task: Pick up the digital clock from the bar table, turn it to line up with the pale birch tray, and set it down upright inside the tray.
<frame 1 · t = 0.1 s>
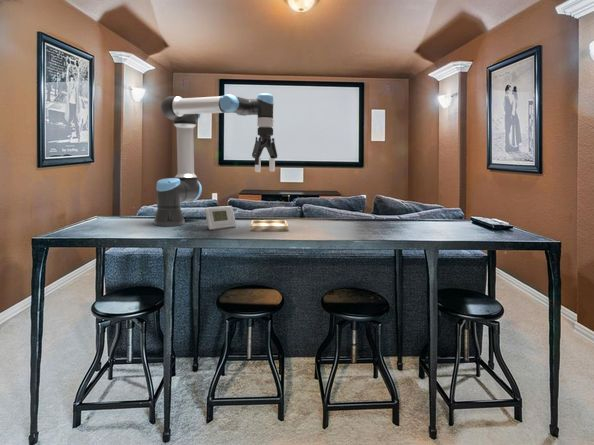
hand: (265, 171, 211), 28 cm above the table, fingers open, 13 cm apart
birch tray: (269, 227, 217), on the table
digital clock: (220, 228, 214), on the table
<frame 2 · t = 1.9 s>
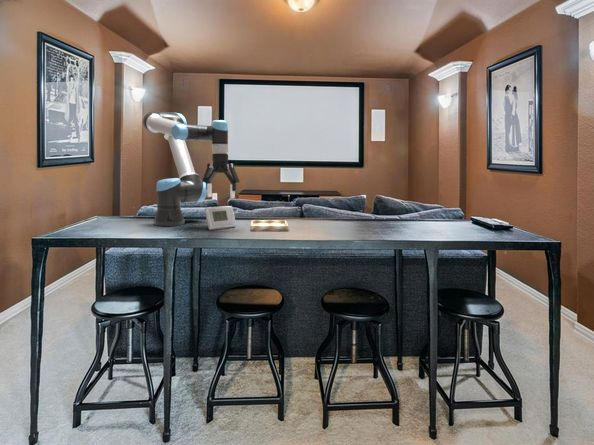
hand: (220, 197, 212), 15 cm above the table, fingers open, 13 cm apart
nothing on the table moved.
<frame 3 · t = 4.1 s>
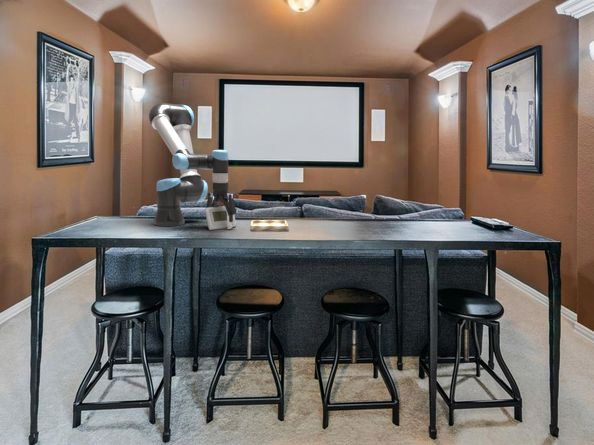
hand: (220, 227, 214), 0 cm above the table, fingers open, 9 cm apart
nothing on the table moved.
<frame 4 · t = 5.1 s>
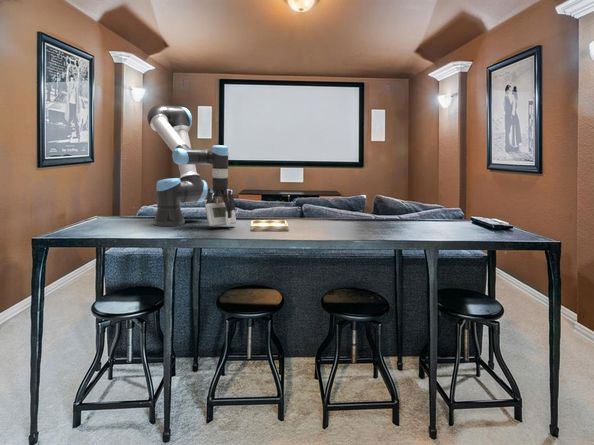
hand: (220, 223, 214), 2 cm above the table, fingers closed on digital clock, 8 cm apart
digital clock: (220, 225, 214), point 2 cm above the table, touching gripper
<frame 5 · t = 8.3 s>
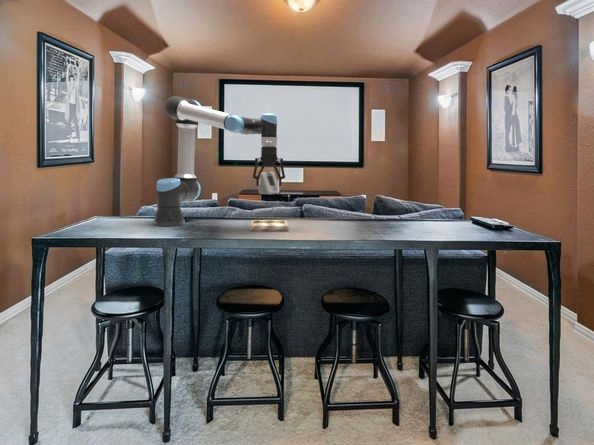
hand: (268, 192, 214), 18 cm above the table, fingers closed on digital clock, 8 cm apart
digital clock: (270, 193, 214), point 17 cm above the table, touching gripper
when the fingers open (3 cm above the table, at t = 11.9 s): digital clock drops 2 cm, resting on birch tray.
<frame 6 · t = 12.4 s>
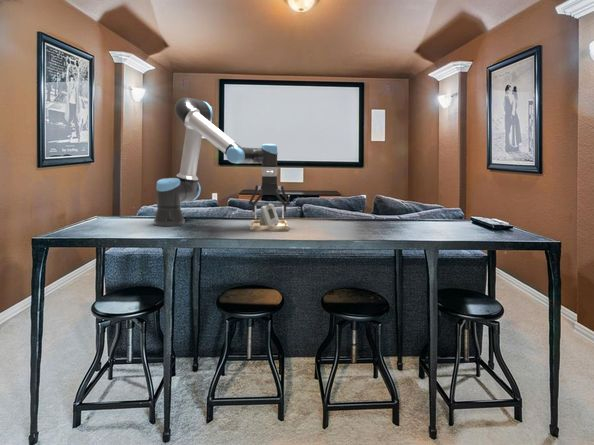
hand: (269, 218, 216), 5 cm above the table, fingers open, 13 cm apart
digital clock: (270, 226, 217), point 1 cm above the table, touching birch tray
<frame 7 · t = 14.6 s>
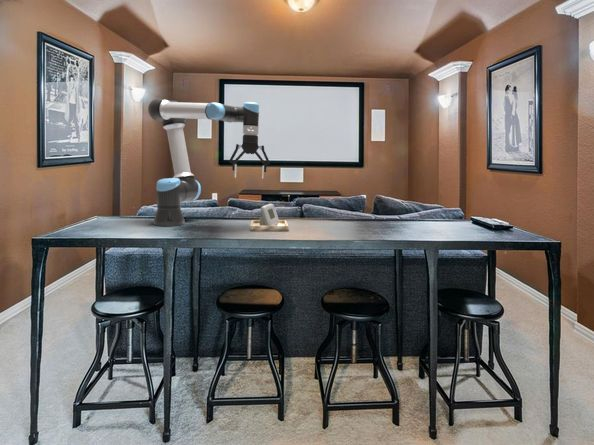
hand: (249, 178, 217), 24 cm above the table, fingers open, 13 cm apart
nothing on the table moved.
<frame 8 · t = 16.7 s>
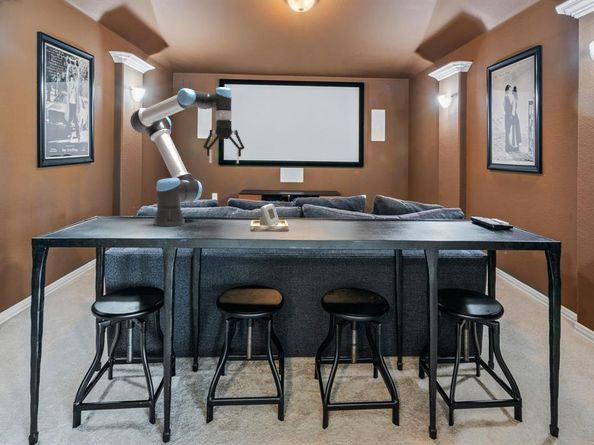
hand: (224, 163, 219), 32 cm above the table, fingers open, 13 cm apart
nothing on the table moved.
at the end: digital clock inside the target area on the birch tray (0.7 cm from its centre), point 0.8 cm above the birch tray's base; digital clock tilted 0°; digital clock touching birch tray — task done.
